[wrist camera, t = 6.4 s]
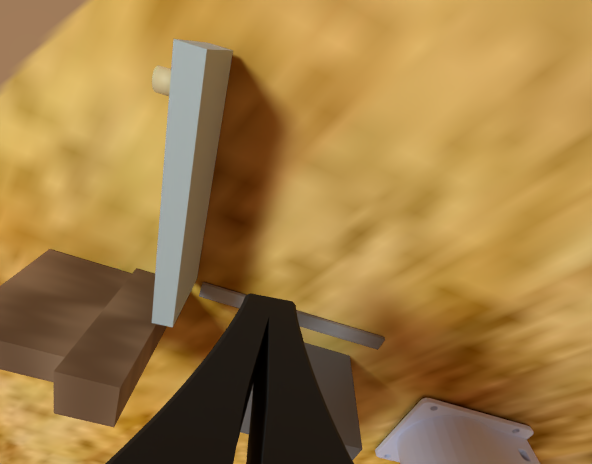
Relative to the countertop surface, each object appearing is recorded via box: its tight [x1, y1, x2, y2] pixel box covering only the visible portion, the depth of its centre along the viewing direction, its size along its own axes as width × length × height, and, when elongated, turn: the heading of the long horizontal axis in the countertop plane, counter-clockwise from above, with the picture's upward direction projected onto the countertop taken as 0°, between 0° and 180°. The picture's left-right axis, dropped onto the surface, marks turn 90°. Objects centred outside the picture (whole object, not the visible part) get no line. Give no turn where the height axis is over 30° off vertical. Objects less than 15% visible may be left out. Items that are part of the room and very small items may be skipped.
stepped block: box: [240, 343, 362, 460], centre depth 20 cm, size 7×4×6 cm, turn 70°
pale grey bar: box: [152, 39, 233, 327], centre depth 14 cm, size 12×2×4 cm, turn 164°
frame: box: [0, 249, 385, 427], centre depth 17 cm, size 21×4×7 cm, turn 70°
